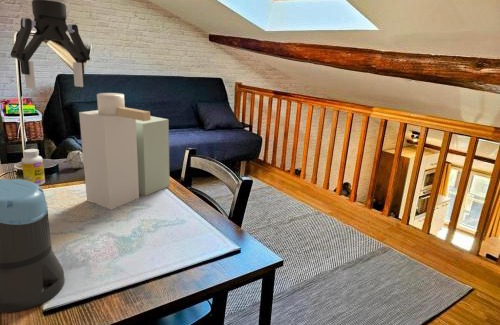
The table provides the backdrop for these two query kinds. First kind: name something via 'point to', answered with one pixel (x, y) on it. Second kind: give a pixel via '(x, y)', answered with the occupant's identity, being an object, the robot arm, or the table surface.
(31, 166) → the supplement bottle
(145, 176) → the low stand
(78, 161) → the game die
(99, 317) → the table surface
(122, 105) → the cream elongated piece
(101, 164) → the tall stand
